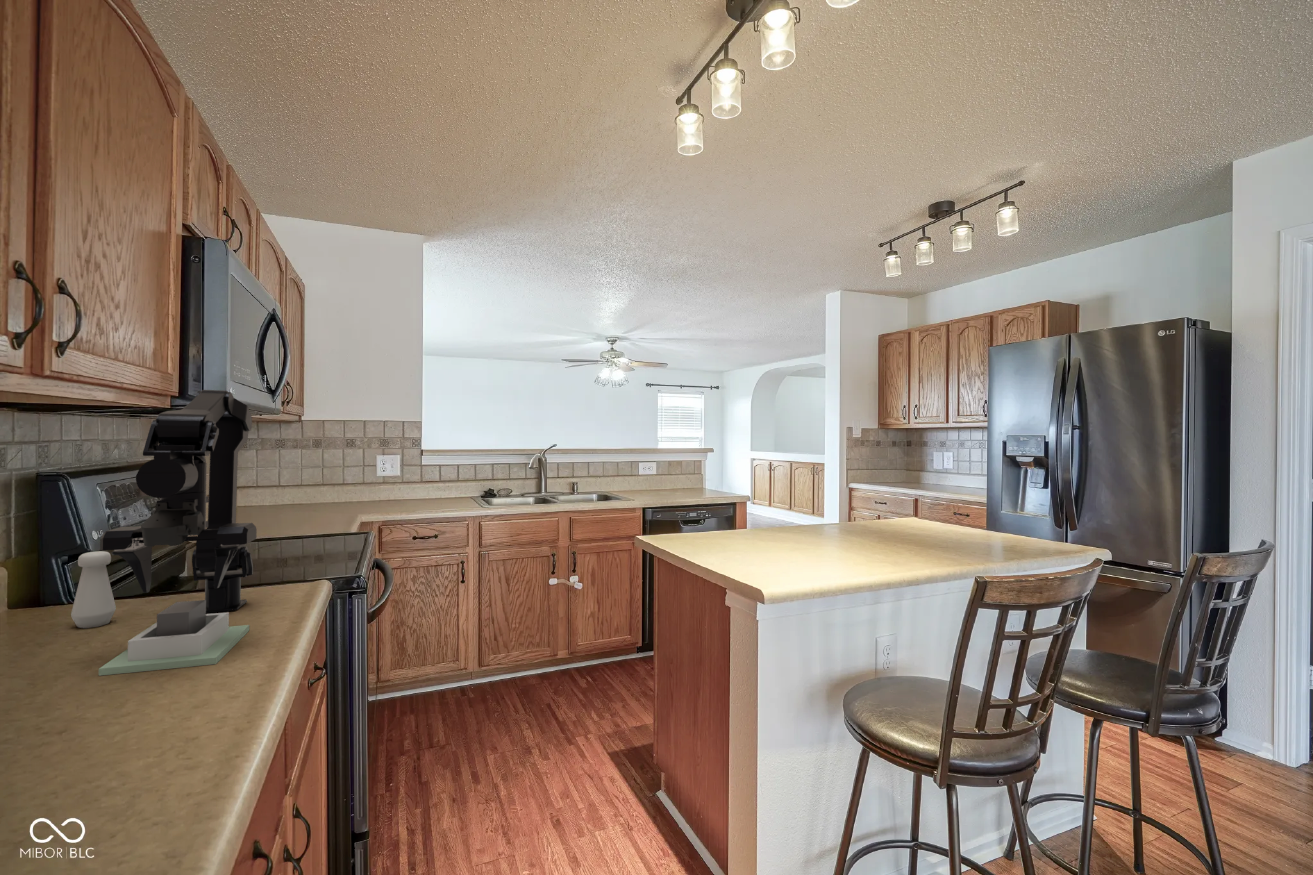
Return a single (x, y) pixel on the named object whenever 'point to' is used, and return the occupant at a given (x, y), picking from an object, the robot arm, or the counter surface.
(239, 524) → the robot arm
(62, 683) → the counter surface
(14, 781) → the counter surface
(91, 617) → the salt shaker
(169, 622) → the chute block
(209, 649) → the deck plate
